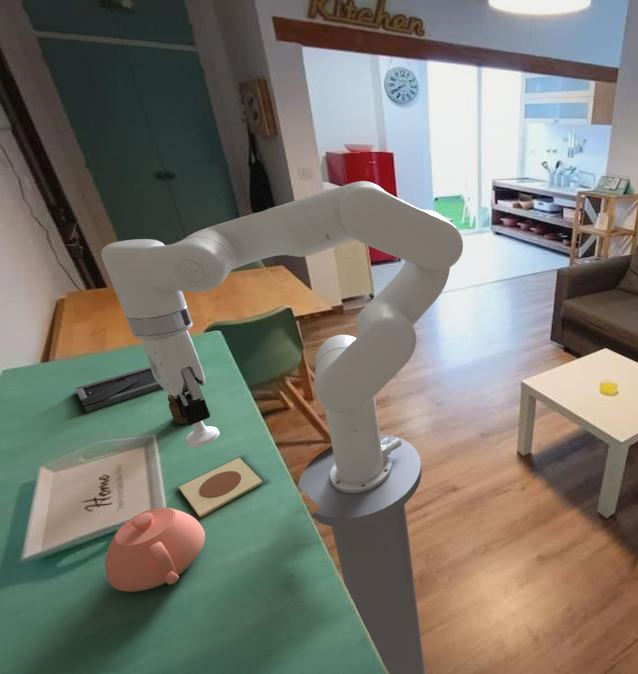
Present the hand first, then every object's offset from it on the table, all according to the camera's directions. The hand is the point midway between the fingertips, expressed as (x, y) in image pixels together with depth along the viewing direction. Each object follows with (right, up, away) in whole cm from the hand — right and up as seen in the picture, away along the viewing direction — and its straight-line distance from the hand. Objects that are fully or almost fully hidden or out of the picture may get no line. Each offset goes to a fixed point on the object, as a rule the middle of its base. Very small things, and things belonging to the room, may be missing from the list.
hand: (196, 416), depth 73 cm
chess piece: (0, -4, +2) cm, 5 cm away
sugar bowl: (-1, -23, -5) cm, 24 cm away
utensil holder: (-25, -6, +30) cm, 40 cm away
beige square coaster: (-3, -16, +10) cm, 19 cm away
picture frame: (-50, 0, +41) cm, 65 cm away
